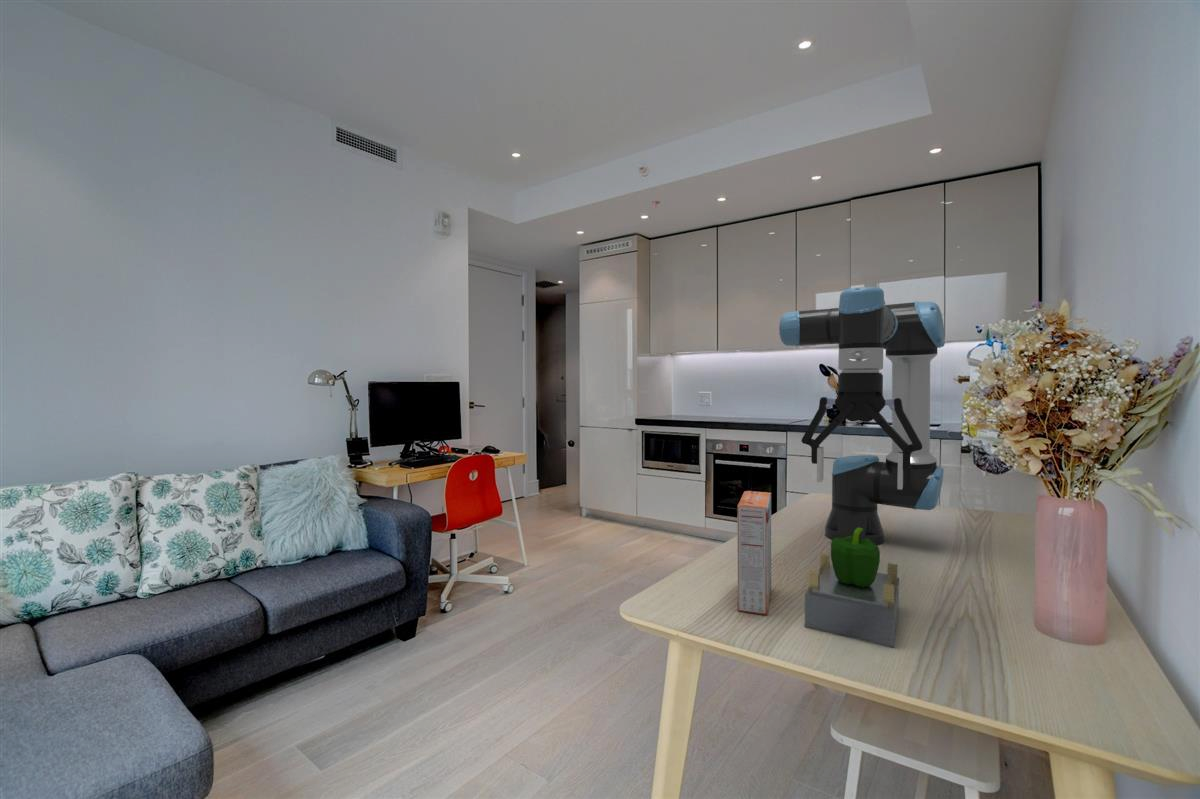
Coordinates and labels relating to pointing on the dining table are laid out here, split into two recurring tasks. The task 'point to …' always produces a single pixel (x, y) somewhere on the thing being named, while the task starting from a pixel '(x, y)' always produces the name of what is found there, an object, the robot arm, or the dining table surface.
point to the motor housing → (853, 605)
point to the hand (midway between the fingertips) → (858, 484)
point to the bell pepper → (855, 559)
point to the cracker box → (754, 552)
